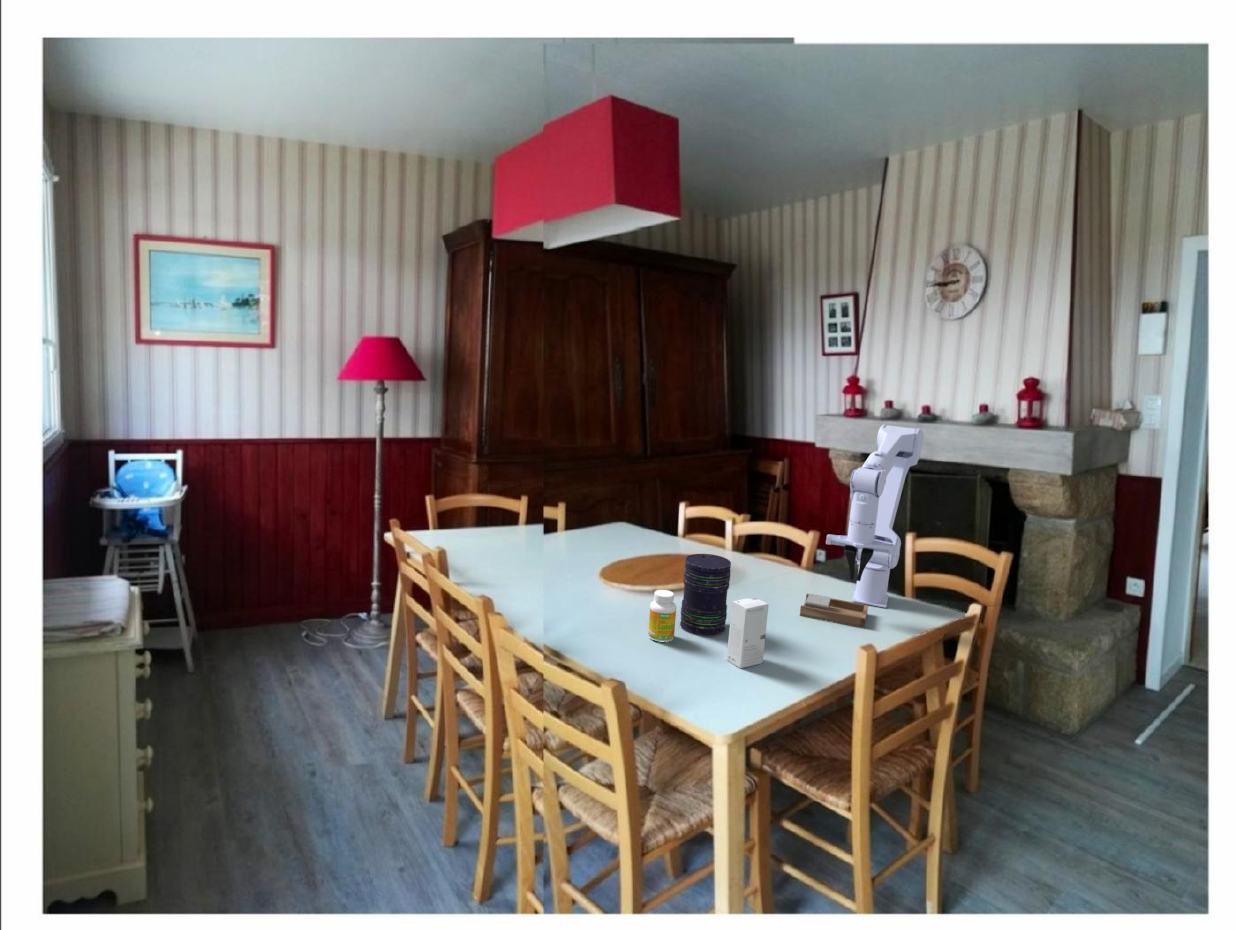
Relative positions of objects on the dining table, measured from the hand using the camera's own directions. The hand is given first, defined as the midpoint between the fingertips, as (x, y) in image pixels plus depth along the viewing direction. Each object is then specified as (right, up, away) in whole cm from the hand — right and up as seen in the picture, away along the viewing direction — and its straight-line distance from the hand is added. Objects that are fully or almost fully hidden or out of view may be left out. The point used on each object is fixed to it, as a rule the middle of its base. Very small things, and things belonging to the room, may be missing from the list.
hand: (855, 579), depth 164 cm
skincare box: (-30, -12, -24) cm, 40 cm away
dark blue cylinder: (-36, -9, -9) cm, 38 cm away
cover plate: (-7, -8, +4) cm, 12 cm away
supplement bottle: (-45, -10, -15) cm, 49 cm away
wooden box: (-4, -9, +3) cm, 10 cm away
